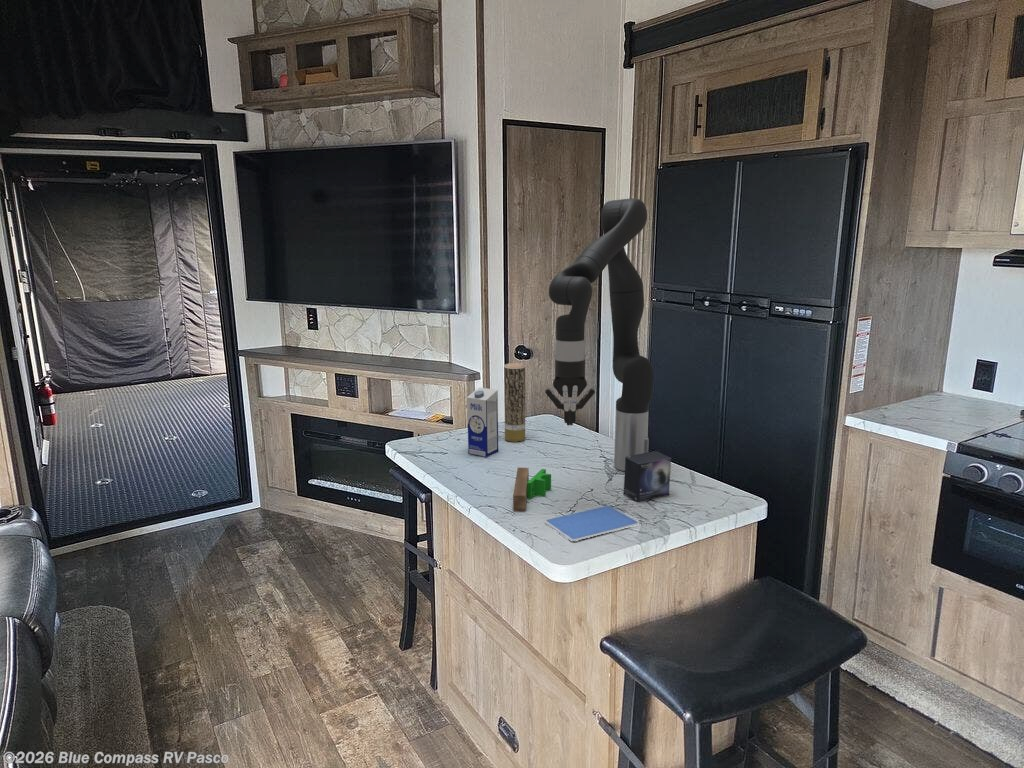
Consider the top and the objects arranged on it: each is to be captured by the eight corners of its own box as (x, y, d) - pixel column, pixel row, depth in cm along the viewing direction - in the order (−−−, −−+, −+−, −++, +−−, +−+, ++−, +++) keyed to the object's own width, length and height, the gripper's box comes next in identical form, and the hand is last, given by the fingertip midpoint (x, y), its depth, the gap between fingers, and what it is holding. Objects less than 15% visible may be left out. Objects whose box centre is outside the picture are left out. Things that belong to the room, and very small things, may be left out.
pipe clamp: (540, 501, 173) (540, 484, 172) (526, 499, 174) (526, 482, 173) (554, 486, 183) (555, 470, 182) (541, 484, 184) (541, 468, 183)
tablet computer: (608, 508, 169) (609, 503, 169) (641, 527, 158) (641, 522, 158) (542, 524, 160) (542, 519, 160) (572, 546, 149) (572, 540, 149)
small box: (637, 503, 171) (639, 463, 168) (622, 494, 176) (623, 456, 174) (670, 495, 176) (672, 457, 173) (654, 487, 181) (656, 449, 179)
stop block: (528, 481, 186) (528, 467, 185) (525, 510, 166) (525, 495, 165) (517, 481, 186) (517, 467, 185) (513, 510, 166) (513, 495, 166)
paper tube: (528, 438, 225) (528, 364, 219) (520, 443, 219) (519, 367, 213) (510, 435, 228) (509, 362, 222) (501, 441, 222) (500, 366, 216)
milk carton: (498, 451, 211) (498, 389, 207) (486, 457, 205) (485, 393, 201) (480, 448, 215) (479, 386, 210) (467, 453, 209) (466, 390, 205)
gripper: (595, 354, 171) (594, 420, 175) (543, 354, 172) (543, 420, 176) (597, 360, 164) (596, 428, 168) (543, 360, 165) (543, 428, 168)
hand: (569, 424), depth 172 cm, fingers closed
